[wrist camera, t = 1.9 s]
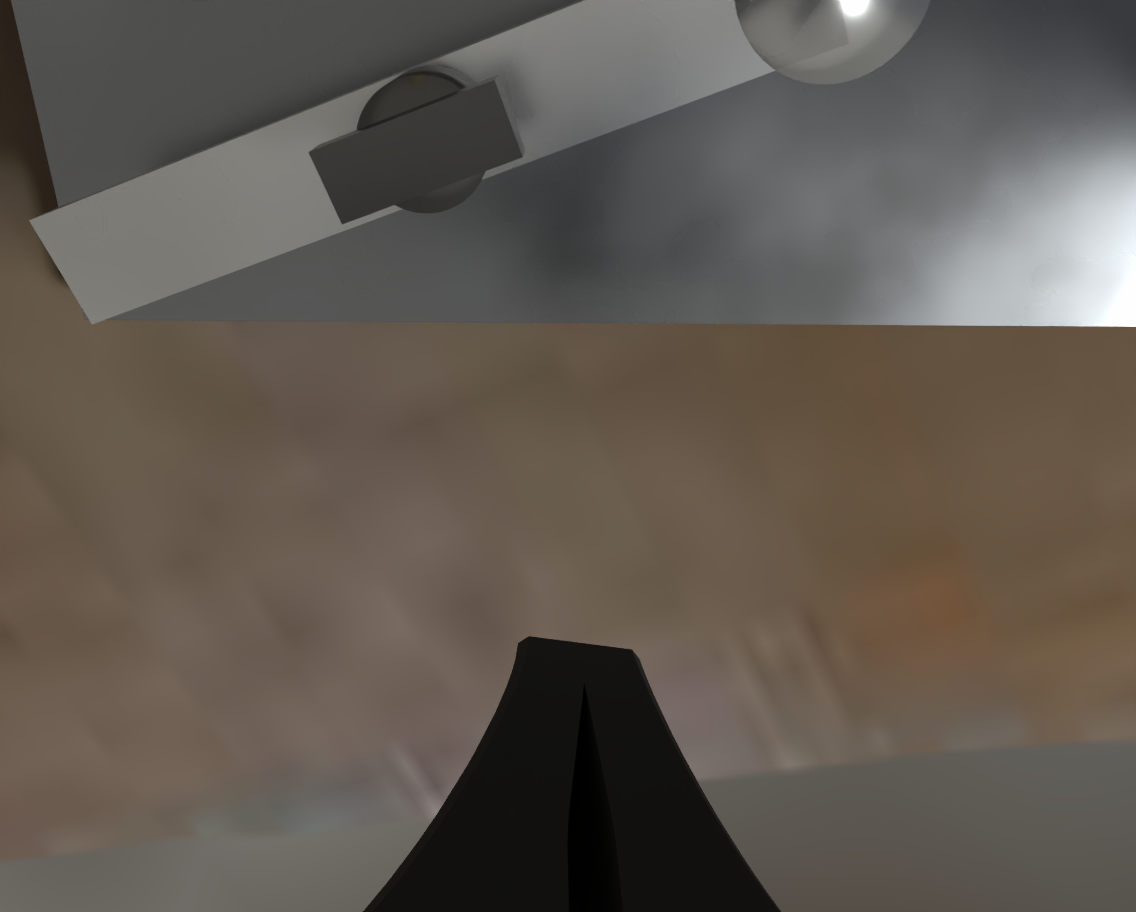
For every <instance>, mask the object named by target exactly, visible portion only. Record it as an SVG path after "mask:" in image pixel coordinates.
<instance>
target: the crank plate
mask: <svg viewBox="0 0 1136 912" xmlns="http://www.w3.org/2000/svg"><path fill="white" fill-rule="evenodd" d="M577 1H579V0H11V3H12V7H13V11H14V16H15V20H16V24H17V29H18V33H19V37H20V42H21V46H22V51H23V55H24V59H25V64H26V68H27V72H28V77H29V81H30V85H31V90H32V94H33V98H34V103H35V107H36V111H37V116H38V120H39V124H40V129H41V133H42V137H43V142H44V146H45V150H46V155H47V159H48V163H49V168H50V172H51V177H52V181H53V185H54V190H55V194H56V198H57V203H58V207H60V206H62V205H65V204H67V203H70V202H72V201H75V200H77V199H80V198H83V197H85V196H88V195H90V194H93V193H95V192H98V191H100V190H103V189H105V188H108V187H110V186H113V185H115V184H118V183H120V182H123V181H125V180H128V179H130V178H133V177H135V176H138V175H141V174H143V173H146V172H148V171H151V170H153V169H156V168H158V167H161V166H163V165H166V164H168V163H171V162H173V161H176V160H178V159H181V158H183V157H186V156H188V155H191V154H193V153H196V152H198V151H201V150H204V149H206V148H209V147H211V146H214V145H216V144H219V143H221V142H224V141H226V140H229V139H231V138H234V137H236V136H239V135H241V134H244V133H246V132H249V131H251V130H254V129H256V128H259V127H262V126H264V125H267V124H269V123H272V122H274V121H277V120H279V119H282V118H284V117H287V116H289V115H292V114H294V113H297V112H299V111H302V110H304V109H307V108H309V107H312V106H314V105H317V104H319V103H322V102H325V101H327V100H330V99H332V98H335V97H337V96H340V95H342V94H345V93H347V92H350V91H352V90H355V89H357V88H360V87H362V86H365V85H367V84H370V83H372V82H375V81H377V80H380V79H383V78H385V77H388V76H390V75H393V74H395V73H398V72H400V71H403V70H405V69H408V68H410V67H413V66H415V65H418V64H420V63H423V62H425V61H428V60H430V59H433V58H435V57H438V56H441V55H443V54H446V53H448V52H451V51H453V50H456V49H458V48H461V47H463V46H466V45H468V44H471V43H473V42H476V41H478V40H481V39H483V38H486V37H488V36H491V35H493V34H496V33H498V32H501V31H504V30H506V29H509V28H511V27H514V26H516V25H519V24H521V23H524V22H526V21H529V20H531V19H534V18H536V17H539V16H541V15H544V14H546V13H549V12H551V11H554V10H556V9H559V8H562V7H564V6H567V5H569V4H572V3H574V2H577ZM82 311H83V316H84V320H89V319H88V317H87V315H86V314H85V312H84V310H83V309H82ZM105 320H191V321H349V322H507V323H665V324H823V325H981V326H1136V0H931V1H930V4H929V7H928V9H927V12H926V14H925V16H924V18H923V20H922V21H921V23H920V25H919V27H918V28H917V30H916V31H915V33H914V34H913V36H912V37H911V38H910V39H909V41H908V42H907V43H906V44H905V46H904V47H903V48H902V49H901V50H900V51H899V52H898V53H897V54H896V55H895V56H894V57H892V58H891V59H890V60H889V61H887V62H886V63H885V64H883V65H882V66H881V67H879V68H877V69H875V70H874V71H872V72H870V73H868V74H866V75H864V76H862V77H859V78H857V79H854V80H850V81H847V82H843V83H836V84H811V83H805V82H801V81H797V80H794V79H792V78H789V77H787V76H785V75H783V74H781V73H779V72H777V71H773V72H771V73H768V74H765V75H763V76H760V77H757V78H754V79H752V80H749V81H746V82H744V83H741V84H738V85H736V86H733V87H730V88H728V89H725V90H722V91H719V92H717V93H714V94H711V95H709V96H706V97H703V98H701V99H698V100H695V101H693V102H690V103H687V104H684V105H682V106H679V107H676V108H674V109H671V110H668V111H666V112H663V113H660V114H658V115H655V116H652V117H649V118H647V119H644V120H641V121H639V122H636V123H633V124H631V125H628V126H625V127H623V128H620V129H617V130H614V131H612V132H609V133H606V134H604V135H601V136H598V137H596V138H593V139H590V140H587V141H585V142H582V143H579V144H577V145H574V146H571V147H569V148H566V149H563V150H561V151H558V152H555V153H552V154H550V155H547V156H544V157H542V158H539V159H536V160H534V161H531V162H528V163H526V164H523V165H520V166H517V167H515V168H512V169H509V170H507V171H504V172H501V173H499V174H496V175H493V176H491V177H488V178H485V179H482V180H481V182H480V184H479V185H478V187H477V188H476V190H475V191H474V192H473V193H472V194H471V195H470V197H468V198H467V199H466V200H465V201H464V202H462V203H461V204H459V205H457V206H456V207H453V208H451V209H449V210H446V211H442V212H438V213H415V212H411V211H407V210H404V209H402V210H399V211H396V212H394V213H391V214H388V215H386V216H383V217H380V218H377V219H375V220H372V221H369V222H367V223H364V224H361V225H359V226H356V227H353V228H351V229H348V230H345V231H342V232H340V233H337V234H334V235H332V236H329V237H326V238H324V239H321V240H318V241H316V242H313V243H310V244H307V245H305V246H302V247H299V248H297V249H294V250H291V251H289V252H286V253H283V254H281V255H278V256H275V257H272V258H270V259H267V260H264V261H262V262H259V263H256V264H254V265H251V266H248V267H245V268H243V269H240V270H237V271H235V272H232V273H229V274H227V275H224V276H221V277H219V278H216V279H213V280H210V281H208V282H205V283H202V284H200V285H197V286H194V287H192V288H189V289H186V290H184V291H181V292H178V293H175V294H173V295H170V296H167V297H165V298H162V299H159V300H157V301H154V302H151V303H149V304H146V305H143V306H140V307H138V308H135V309H132V310H130V311H127V312H124V313H122V314H119V315H116V316H114V317H111V318H108V319H105Z"/></svg>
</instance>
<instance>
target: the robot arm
mask: <svg viewBox="0 0 1136 912" xmlns="http://www.w3.org/2000/svg"><path fill="white" fill-rule="evenodd" d="M363 912H781V911H780V909H779V908H778V907H777V906H776V904H775V903H774V901H773V900H772V899H771V897H770V896H769V894H768V893H767V892H766V890H765V889H764V888H763V886H762V885H761V883H760V882H759V880H758V879H757V877H756V876H755V875H754V873H753V871H752V870H751V868H750V867H749V866H748V864H747V862H746V861H745V859H744V858H743V856H742V855H741V853H740V852H739V850H738V849H737V847H736V845H735V844H734V842H733V841H732V839H731V838H730V836H729V834H728V833H727V831H726V830H725V828H724V826H723V825H722V823H721V822H720V820H719V818H718V817H717V815H716V813H715V812H714V810H713V808H712V806H711V805H710V803H709V801H708V800H707V798H706V796H705V794H704V793H703V791H702V789H701V787H700V785H699V784H698V782H697V780H696V778H695V776H694V774H693V773H692V771H691V769H690V767H689V765H688V763H687V762H686V760H685V758H684V756H683V754H682V752H681V750H680V748H679V747H678V745H677V743H676V741H675V739H674V737H673V735H672V733H671V731H670V729H669V726H668V724H667V722H666V720H665V718H664V716H663V714H662V712H661V710H660V708H659V705H658V703H657V701H656V699H655V696H654V694H653V692H652V690H651V687H650V685H649V683H648V680H647V678H646V675H645V673H644V670H643V668H642V665H641V662H640V660H639V658H638V657H637V655H636V654H635V653H634V652H633V650H631V649H624V648H616V647H608V646H600V645H592V644H585V643H577V642H569V641H561V640H553V639H546V638H538V637H530V636H529V637H527V638H526V639H524V640H522V641H521V642H519V643H518V647H517V653H516V659H515V663H514V666H513V670H512V673H511V676H510V679H509V681H508V684H507V687H506V689H505V692H504V694H503V696H502V699H501V701H500V703H499V705H498V708H497V710H496V712H495V714H494V716H493V718H492V720H491V722H490V724H489V726H488V728H487V730H486V732H485V734H484V736H483V737H482V739H481V741H480V743H479V745H478V747H477V749H476V751H475V753H474V755H473V757H472V758H471V760H470V762H469V764H468V765H467V767H466V769H465V770H464V772H463V773H462V775H461V777H460V778H459V780H458V781H457V783H456V785H455V786H454V788H453V789H452V791H451V793H450V794H449V796H448V798H447V799H446V801H445V802H444V804H443V806H442V807H441V809H440V810H439V812H438V813H437V815H436V816H435V818H434V819H433V821H432V822H431V824H430V825H429V827H428V828H427V830H426V831H425V832H424V834H423V835H422V837H421V838H420V840H419V841H418V842H417V844H416V845H415V846H414V848H413V849H412V851H411V852H410V853H409V855H408V856H407V857H406V859H405V860H404V861H403V863H402V864H401V865H400V867H399V868H398V869H397V871H396V872H395V873H394V874H393V876H392V877H391V878H390V880H389V881H388V882H387V884H386V885H385V886H384V887H383V888H382V890H381V891H380V892H379V893H378V894H377V896H376V897H375V898H374V899H373V900H372V902H371V903H370V904H369V905H368V906H367V908H366V909H365V910H364V911H363Z"/></svg>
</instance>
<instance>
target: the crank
mask: <svg viewBox="0 0 1136 912" xmlns="http://www.w3.org/2000/svg"><path fill="white" fill-rule="evenodd" d="M930 1H931V0H579V1H577V2H574V3H572V4H569V5H567V6H564V7H562V8H559V9H556V10H554V11H551V12H549V13H546V14H544V15H541V16H539V17H536V18H534V19H531V20H529V21H526V22H524V23H521V24H519V25H516V26H514V27H511V28H509V29H506V30H504V31H501V32H498V33H496V34H493V35H491V36H488V37H486V38H483V39H481V40H478V41H476V42H473V43H471V44H468V45H466V46H463V47H461V48H458V49H456V50H453V51H451V52H448V53H446V54H443V55H441V56H438V57H435V58H433V59H430V60H428V61H425V62H423V63H420V64H418V65H415V66H413V67H410V68H408V69H405V70H403V71H400V72H398V73H395V74H393V75H390V76H388V77H385V78H383V79H380V80H377V81H375V82H372V83H370V84H367V85H365V86H362V87H360V88H357V89H355V90H352V91H350V92H347V93H345V94H342V95H340V96H337V97H335V98H332V99H330V100H327V101H325V102H322V103H319V104H317V105H314V106H312V107H309V108H307V109H304V110H302V111H299V112H297V113H294V114H292V115H289V116H287V117H284V118H282V119H279V120H277V121H274V122H272V123H269V124H267V125H264V126H262V127H259V128H256V129H254V130H251V131H249V132H246V133H244V134H241V135H239V136H236V137H234V138H231V139H229V140H226V141H224V142H221V143H219V144H216V145H214V146H211V147H209V148H206V149H204V150H201V151H198V152H196V153H193V154H191V155H188V156H186V157H183V158H181V159H178V160H176V161H173V162H171V163H168V164H166V165H163V166H161V167H158V168H156V169H153V170H151V171H148V172H146V173H143V174H141V175H138V176H135V177H133V178H130V179H128V180H125V181H123V182H120V183H118V184H115V185H113V186H110V187H108V188H105V189H103V190H100V191H98V192H95V193H93V194H90V195H88V196H85V197H83V198H80V199H77V200H75V201H72V202H70V203H67V204H65V205H62V206H60V207H57V208H55V209H52V210H50V211H48V212H46V213H44V214H42V215H39V216H37V217H35V218H33V219H31V220H29V221H30V223H31V225H32V226H33V228H34V230H35V231H36V233H37V235H38V236H39V238H40V239H41V241H42V243H43V244H44V246H45V248H46V249H47V251H48V253H49V254H50V256H51V258H52V259H53V261H54V263H55V264H56V266H57V268H58V269H59V271H60V272H61V274H62V276H63V277H64V279H65V281H66V282H67V284H68V286H69V287H70V289H71V291H72V292H73V294H74V296H75V297H76V299H77V301H78V302H79V304H80V306H81V307H82V309H83V310H84V312H85V314H86V315H87V317H88V319H89V320H90V322H91V324H95V323H97V322H100V321H103V320H105V319H108V318H111V317H114V316H116V315H119V314H122V313H124V312H127V311H130V310H132V309H135V308H138V307H140V306H143V305H146V304H149V303H151V302H154V301H157V300H159V299H162V298H165V297H167V296H170V295H173V294H175V293H178V292H181V291H184V290H186V289H189V288H192V287H194V286H197V285H200V284H202V283H205V282H208V281H210V280H213V279H216V278H219V277H221V276H224V275H227V274H229V273H232V272H235V271H237V270H240V269H243V268H245V267H248V266H251V265H254V264H256V263H259V262H262V261H264V260H267V259H270V258H272V257H275V256H278V255H281V254H283V253H286V252H289V251H291V250H294V249H297V248H299V247H302V246H305V245H307V244H310V243H313V242H316V241H318V240H321V239H324V238H326V237H329V236H332V235H334V234H337V233H340V232H342V231H345V230H348V229H351V228H353V227H356V226H359V225H361V224H364V223H367V222H369V221H372V220H375V219H377V218H380V217H383V216H386V215H388V214H391V213H394V212H396V211H399V210H402V209H404V210H407V211H411V212H415V213H438V212H442V211H446V210H449V209H451V208H453V207H456V206H457V205H459V204H461V203H462V202H464V201H465V200H466V199H467V198H468V197H470V195H471V194H472V193H473V192H474V191H475V190H476V188H477V187H478V185H479V184H480V182H481V180H482V179H485V178H488V177H491V176H493V175H496V174H499V173H501V172H504V171H507V170H509V169H512V168H515V167H517V166H520V165H523V164H526V163H528V162H531V161H534V160H536V159H539V158H542V157H544V156H547V155H550V154H552V153H555V152H558V151H561V150H563V149H566V148H569V147H571V146H574V145H577V144H579V143H582V142H585V141H587V140H590V139H593V138H596V137H598V136H601V135H604V134H606V133H609V132H612V131H614V130H617V129H620V128H623V127H625V126H628V125H631V124H633V123H636V122H639V121H641V120H644V119H647V118H649V117H652V116H655V115H658V114H660V113H663V112H666V111H668V110H671V109H674V108H676V107H679V106H682V105H684V104H687V103H690V102H693V101H695V100H698V99H701V98H703V97H706V96H709V95H711V94H714V93H717V92H719V91H722V90H725V89H728V88H730V87H733V86H736V85H738V84H741V83H744V82H746V81H749V80H752V79H754V78H757V77H760V76H763V75H765V74H768V73H771V72H773V71H777V72H779V73H781V74H783V75H785V76H787V77H789V78H792V79H794V80H797V81H801V82H805V83H811V84H836V83H843V82H847V81H850V80H854V79H857V78H859V77H862V76H864V75H866V74H868V73H870V72H872V71H874V70H875V69H877V68H879V67H881V66H882V65H883V64H885V63H886V62H887V61H889V60H890V59H891V58H892V57H894V56H895V55H896V54H897V53H898V52H899V51H900V50H901V49H902V48H903V47H904V46H905V44H906V43H907V42H908V41H909V39H910V38H911V37H912V36H913V34H914V33H915V31H916V30H917V28H918V27H919V25H920V23H921V21H922V20H923V18H924V16H925V14H926V12H927V9H928V7H929V4H930Z"/></svg>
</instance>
